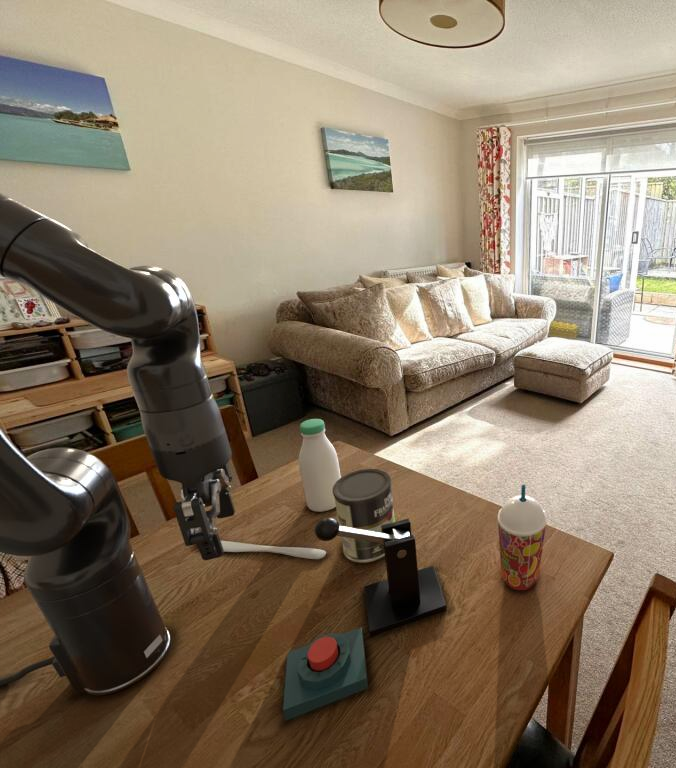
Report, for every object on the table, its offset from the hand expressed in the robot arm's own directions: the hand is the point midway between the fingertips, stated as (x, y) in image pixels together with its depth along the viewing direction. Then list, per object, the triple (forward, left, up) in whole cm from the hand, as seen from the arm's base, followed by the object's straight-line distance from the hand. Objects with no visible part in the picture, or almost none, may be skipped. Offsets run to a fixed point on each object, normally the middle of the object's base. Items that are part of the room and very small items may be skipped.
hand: (220, 535), depth 56 cm
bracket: (+23, -5, -18) cm, 30 cm away
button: (+11, -13, -14) cm, 22 cm away
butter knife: (-1, +17, -18) cm, 25 cm away
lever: (+18, -5, -4) cm, 19 cm away
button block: (+11, -13, -18) cm, 25 cm away
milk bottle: (+11, +28, -18) cm, 36 cm away
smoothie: (+43, -8, -18) cm, 48 cm away
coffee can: (+19, +11, -18) cm, 29 cm away
